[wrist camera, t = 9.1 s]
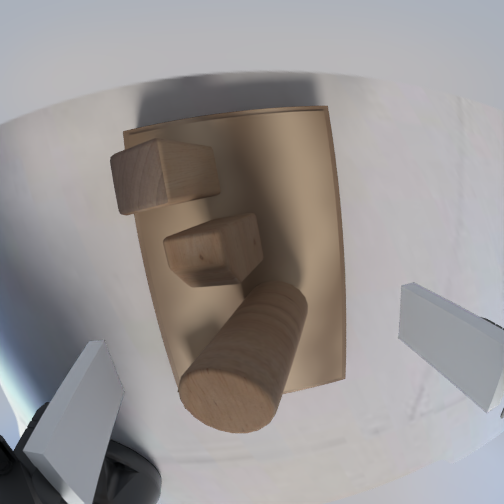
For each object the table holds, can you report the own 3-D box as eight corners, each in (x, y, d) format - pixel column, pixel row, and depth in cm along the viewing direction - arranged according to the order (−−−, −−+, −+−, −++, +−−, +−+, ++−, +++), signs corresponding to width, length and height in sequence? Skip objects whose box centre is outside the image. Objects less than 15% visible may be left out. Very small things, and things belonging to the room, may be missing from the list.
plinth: (187, 385, 26) (184, 409, 23) (135, 138, 21) (122, 131, 18) (332, 358, 28) (346, 379, 24) (312, 115, 22) (328, 105, 19)
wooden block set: (162, 164, 21) (46, 168, 11) (280, 134, 18) (213, 94, 8) (215, 382, 24) (155, 469, 15) (317, 384, 21) (292, 494, 12)
